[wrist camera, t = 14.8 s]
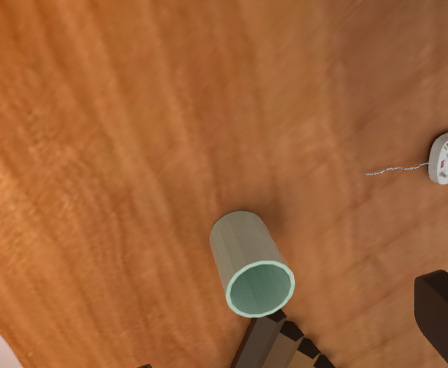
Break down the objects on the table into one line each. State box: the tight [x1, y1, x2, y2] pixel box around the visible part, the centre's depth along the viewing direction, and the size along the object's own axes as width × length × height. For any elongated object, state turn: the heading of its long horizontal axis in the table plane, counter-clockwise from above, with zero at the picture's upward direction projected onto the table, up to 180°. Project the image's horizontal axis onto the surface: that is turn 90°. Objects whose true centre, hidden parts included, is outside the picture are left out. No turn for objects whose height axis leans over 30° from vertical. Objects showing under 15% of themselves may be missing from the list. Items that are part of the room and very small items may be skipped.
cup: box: [209, 211, 295, 317], centre depth 40 cm, size 6×6×9 cm
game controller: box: [365, 132, 448, 184], centre depth 44 cm, size 6×12×3 cm, turn 116°
